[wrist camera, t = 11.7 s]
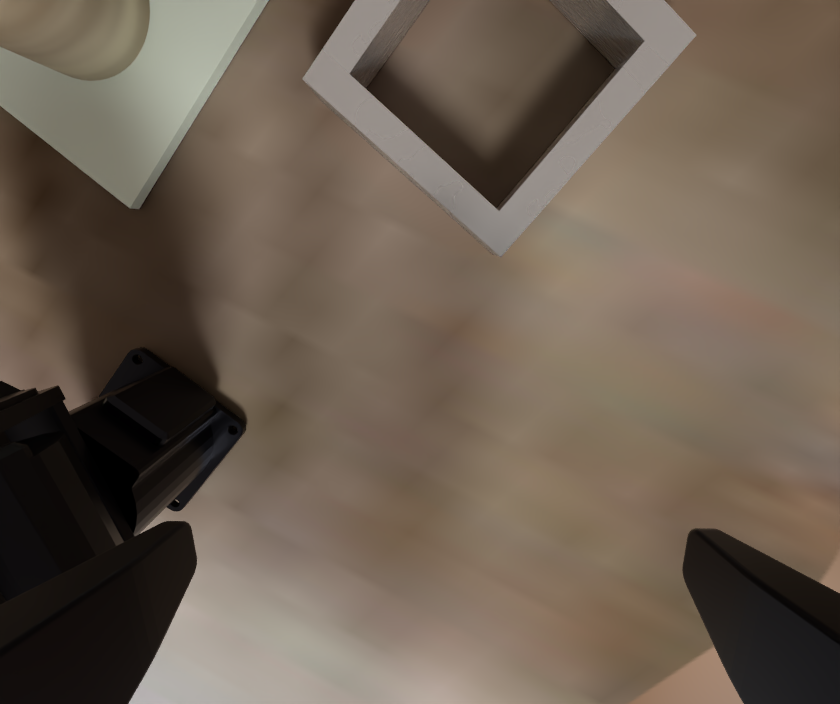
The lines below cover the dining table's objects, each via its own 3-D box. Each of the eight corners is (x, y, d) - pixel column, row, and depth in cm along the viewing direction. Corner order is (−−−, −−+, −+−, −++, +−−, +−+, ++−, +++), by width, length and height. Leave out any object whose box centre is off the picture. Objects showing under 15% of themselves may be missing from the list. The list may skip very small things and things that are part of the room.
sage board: (139, 209, 19) (129, 208, 19) (-89, 28, 18) (-107, 21, 17) (280, -19, 17) (274, -28, 16) (29, -252, 15) (13, -271, 15)
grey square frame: (492, 254, 19) (500, 257, 17) (320, 100, 18) (302, 78, 15) (659, 63, 17) (696, 34, 15) (477, -128, 16) (485, -194, 13)
